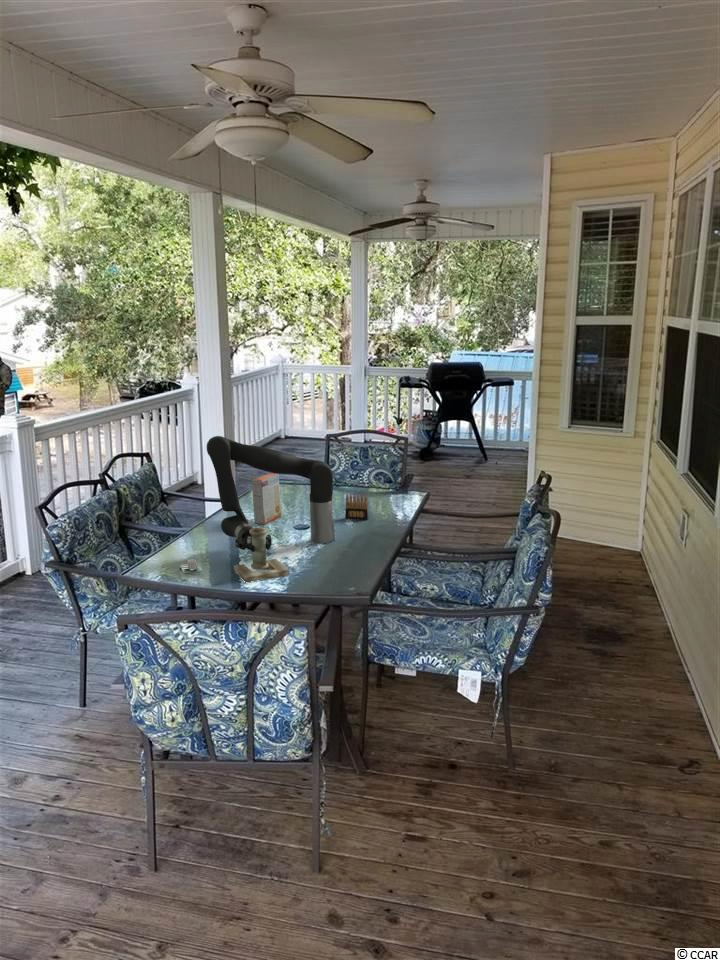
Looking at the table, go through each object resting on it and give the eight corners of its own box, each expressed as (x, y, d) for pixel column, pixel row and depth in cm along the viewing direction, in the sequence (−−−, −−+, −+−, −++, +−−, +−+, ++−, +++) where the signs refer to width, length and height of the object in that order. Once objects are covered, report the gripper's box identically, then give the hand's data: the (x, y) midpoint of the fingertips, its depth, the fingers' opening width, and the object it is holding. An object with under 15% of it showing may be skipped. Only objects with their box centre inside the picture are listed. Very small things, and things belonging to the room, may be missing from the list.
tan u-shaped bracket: (276, 563, 267) (275, 558, 266) (289, 575, 254) (289, 569, 254) (234, 570, 260) (233, 565, 259) (245, 583, 247) (245, 577, 247)
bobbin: (265, 562, 262) (263, 526, 258) (271, 568, 256) (269, 531, 253) (248, 565, 259) (247, 529, 255) (254, 570, 253) (252, 533, 250)
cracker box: (271, 515, 332) (269, 472, 327) (281, 517, 329) (279, 473, 325) (253, 523, 320) (251, 478, 315) (264, 525, 317) (262, 479, 313)
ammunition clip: (345, 518, 325) (344, 493, 323) (346, 517, 327) (345, 492, 324) (367, 520, 323) (367, 494, 320) (368, 519, 324) (368, 493, 322)
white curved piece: (176, 570, 263) (176, 559, 262) (196, 565, 267) (196, 555, 266) (186, 576, 256) (185, 566, 255) (206, 571, 260) (206, 561, 260)
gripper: (228, 528, 264) (241, 541, 249) (264, 523, 270) (279, 535, 255) (229, 547, 266) (242, 561, 251) (265, 542, 272) (280, 554, 257)
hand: (261, 548), depth 253 cm, fingers closed on bobbin, 5 cm apart
